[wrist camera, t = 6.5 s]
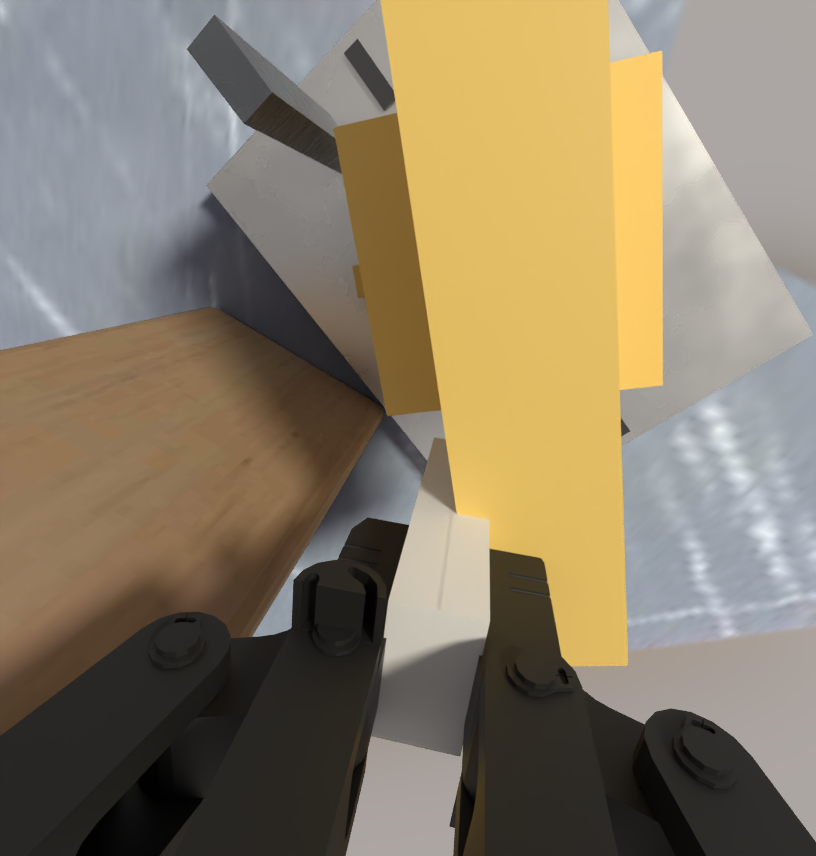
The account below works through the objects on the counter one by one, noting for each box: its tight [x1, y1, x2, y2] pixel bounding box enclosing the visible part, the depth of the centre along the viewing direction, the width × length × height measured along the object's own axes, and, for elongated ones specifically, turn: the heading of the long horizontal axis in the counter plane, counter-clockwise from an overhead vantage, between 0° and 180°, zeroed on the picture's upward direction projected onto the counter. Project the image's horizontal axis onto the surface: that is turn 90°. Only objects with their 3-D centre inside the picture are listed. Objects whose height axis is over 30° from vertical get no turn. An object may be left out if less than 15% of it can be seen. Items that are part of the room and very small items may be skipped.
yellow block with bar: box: [334, 0, 663, 666], centre depth 13 cm, size 11×16×12 cm
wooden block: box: [0, 307, 384, 736], centre depth 17 cm, size 10×10×20 cm
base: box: [187, 0, 813, 461], centre depth 17 cm, size 20×16×10 cm
